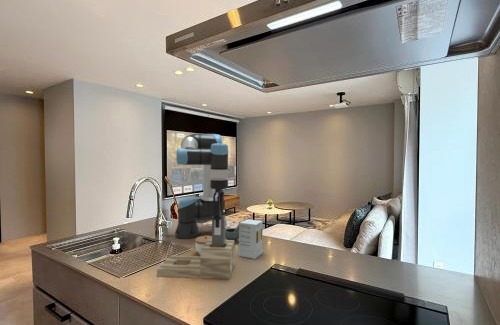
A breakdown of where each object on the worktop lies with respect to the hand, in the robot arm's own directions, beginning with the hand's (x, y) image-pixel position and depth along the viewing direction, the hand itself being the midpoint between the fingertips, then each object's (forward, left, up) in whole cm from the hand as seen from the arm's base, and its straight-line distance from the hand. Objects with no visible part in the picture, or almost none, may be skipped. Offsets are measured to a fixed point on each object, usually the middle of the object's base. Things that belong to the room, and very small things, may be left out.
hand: (218, 232), depth 111 cm
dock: (0, -9, -16) cm, 19 cm away
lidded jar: (-19, -10, -17) cm, 27 cm away
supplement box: (-20, +13, -17) cm, 29 cm away
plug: (0, 0, -5) cm, 5 cm away
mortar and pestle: (-39, +2, -16) cm, 42 cm away
